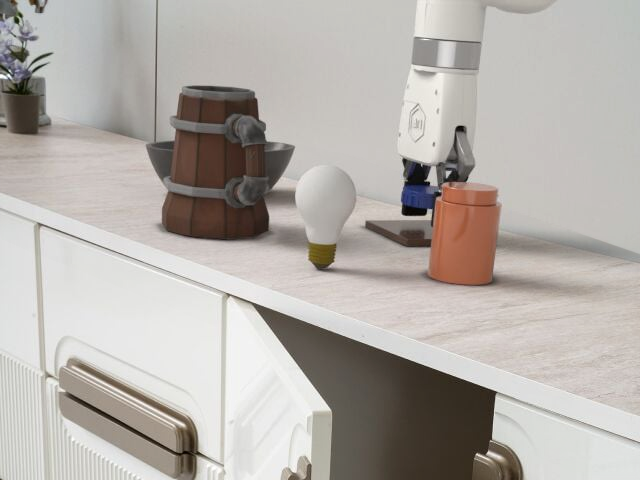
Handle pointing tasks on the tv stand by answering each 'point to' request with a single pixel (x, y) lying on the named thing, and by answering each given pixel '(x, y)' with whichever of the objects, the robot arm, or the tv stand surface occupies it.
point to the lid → (419, 196)
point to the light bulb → (324, 210)
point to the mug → (217, 165)
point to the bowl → (274, 159)
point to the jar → (465, 233)
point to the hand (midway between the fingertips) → (428, 220)
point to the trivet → (404, 231)
